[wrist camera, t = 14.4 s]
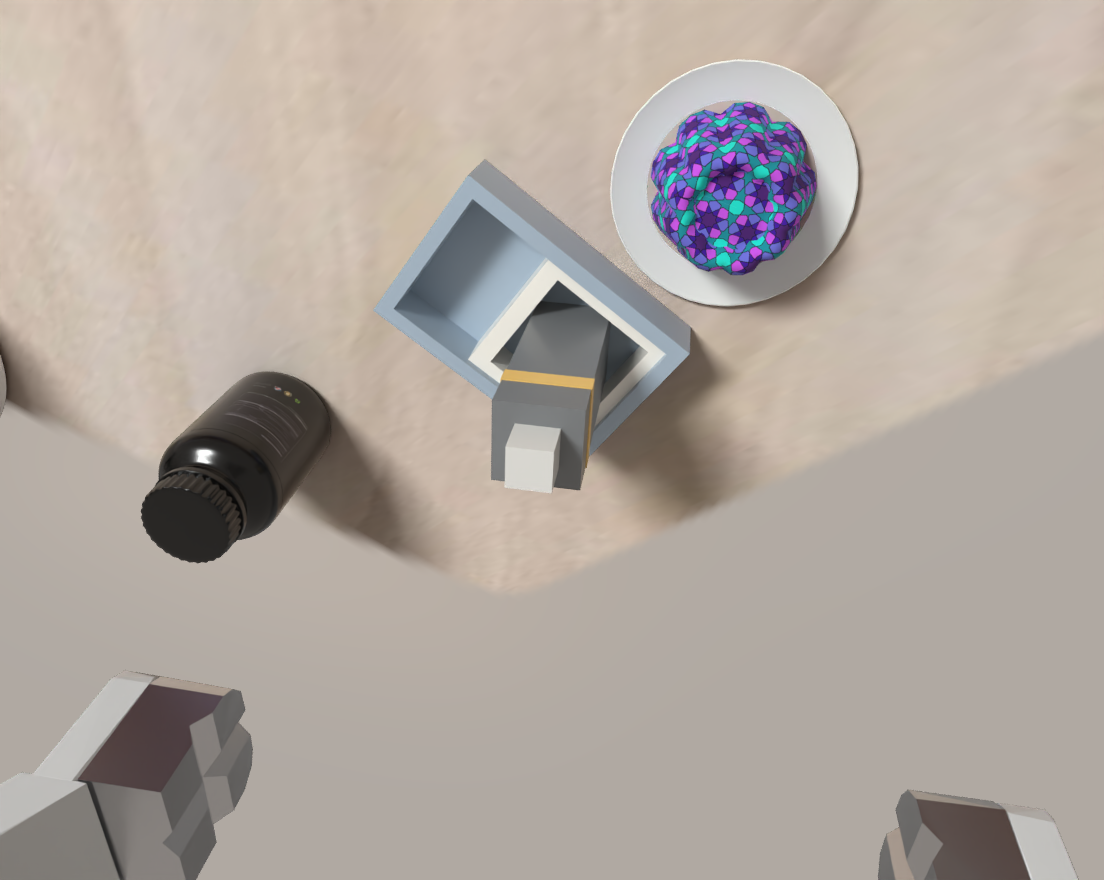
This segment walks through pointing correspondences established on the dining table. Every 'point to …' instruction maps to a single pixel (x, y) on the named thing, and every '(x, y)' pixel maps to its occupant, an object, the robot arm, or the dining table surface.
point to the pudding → (734, 183)
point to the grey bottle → (550, 399)
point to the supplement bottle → (236, 466)
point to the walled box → (525, 295)
